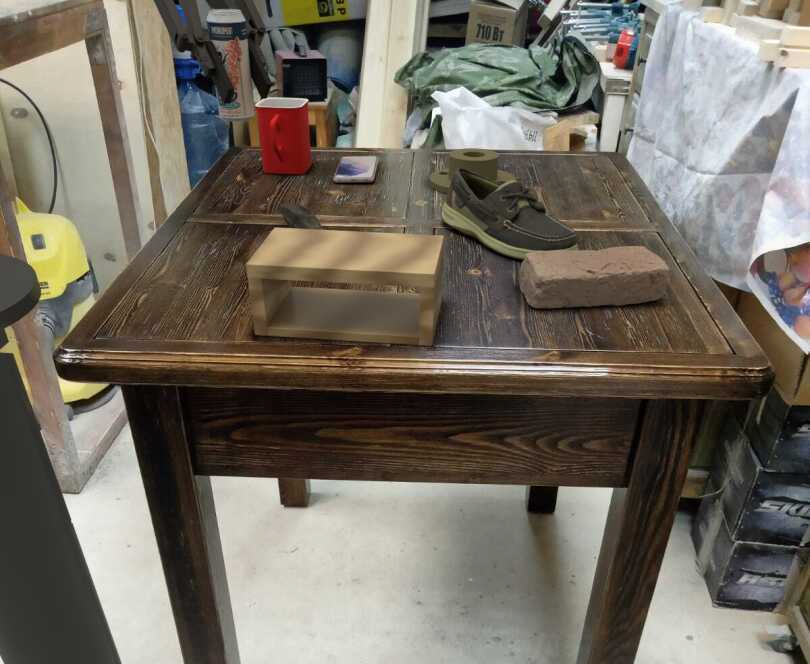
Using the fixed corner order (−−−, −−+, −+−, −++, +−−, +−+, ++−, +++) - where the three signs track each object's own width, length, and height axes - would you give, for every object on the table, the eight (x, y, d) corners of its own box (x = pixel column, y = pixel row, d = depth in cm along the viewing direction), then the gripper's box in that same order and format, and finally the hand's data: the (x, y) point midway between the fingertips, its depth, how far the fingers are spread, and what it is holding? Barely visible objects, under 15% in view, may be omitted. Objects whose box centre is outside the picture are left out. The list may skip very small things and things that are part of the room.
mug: (271, 161, 142) (265, 97, 136) (314, 163, 142) (310, 98, 135) (254, 179, 133) (246, 111, 126) (300, 181, 133) (294, 112, 126)
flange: (495, 170, 121) (532, 150, 131) (414, 157, 127) (455, 139, 137) (493, 201, 124) (529, 179, 134) (413, 187, 130) (453, 168, 140)
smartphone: (332, 178, 131) (341, 156, 142) (333, 184, 131) (341, 161, 143) (374, 177, 131) (379, 155, 142) (374, 183, 131) (379, 161, 143)
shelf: (254, 335, 85) (245, 264, 80) (281, 293, 94) (274, 227, 89) (432, 346, 84) (434, 273, 78) (441, 302, 93) (444, 235, 88)
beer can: (212, 119, 102) (197, 10, 94) (235, 113, 105) (223, 7, 97) (239, 124, 100) (226, 13, 92) (262, 117, 103) (252, 10, 95)
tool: (366, 271, 104) (368, 248, 102) (315, 276, 101) (316, 253, 99) (304, 212, 116) (305, 192, 114) (257, 216, 113) (257, 194, 111)
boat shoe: (553, 273, 100) (561, 208, 95) (416, 229, 113) (417, 170, 108) (595, 255, 106) (605, 192, 100) (460, 215, 119) (463, 157, 114)
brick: (532, 311, 91) (537, 272, 88) (515, 284, 97) (520, 247, 94) (664, 306, 93) (674, 267, 90) (639, 280, 99) (647, 243, 96)
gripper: (225, -50, 105) (298, 105, 105) (98, -47, 96) (178, 122, 97) (238, -100, 98) (316, 66, 99) (103, -102, 90) (190, 80, 90)
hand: (248, 93), depth 98 cm, fingers closed on beer can, 5 cm apart
